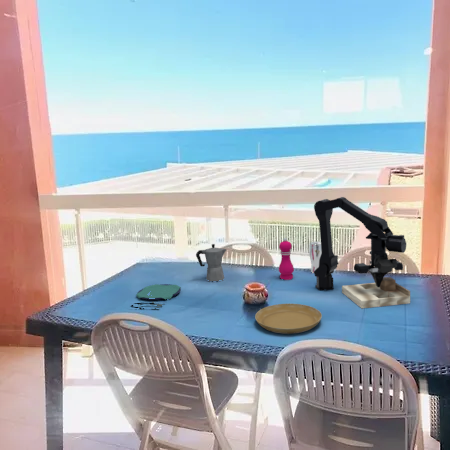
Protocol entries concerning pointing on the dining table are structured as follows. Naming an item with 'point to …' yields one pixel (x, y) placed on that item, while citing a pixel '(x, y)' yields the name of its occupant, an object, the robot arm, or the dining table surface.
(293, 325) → the plant saucer
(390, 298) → the beige sorting tray
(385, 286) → the walnut block
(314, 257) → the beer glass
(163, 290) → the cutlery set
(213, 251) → the coffeepot
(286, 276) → the pepper mill
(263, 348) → the dining table surface
